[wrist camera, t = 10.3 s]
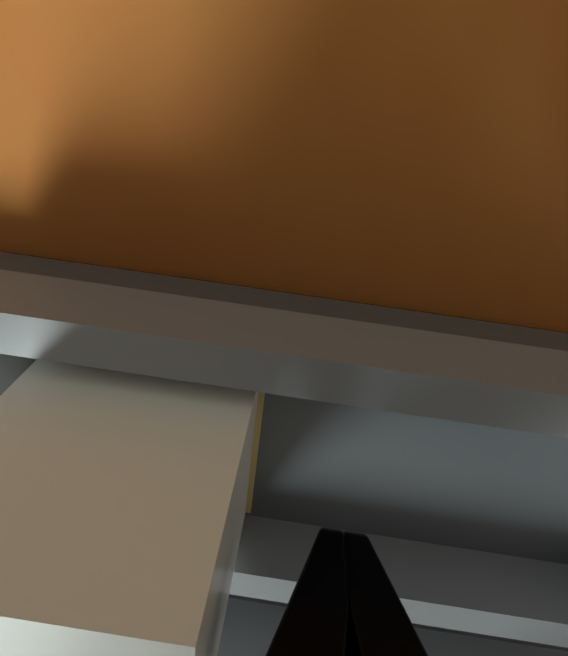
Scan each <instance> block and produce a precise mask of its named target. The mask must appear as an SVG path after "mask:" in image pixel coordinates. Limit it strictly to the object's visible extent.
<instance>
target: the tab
mask: <svg viewBox="0 0 568 656" xmlns="http://www.w3.org/2000/svg"><path fill="white" fill-rule="evenodd" d="M258 393H259V392H255V391H248V390H241V389H235V388H228V387H221V386H214V385H208V384H201V383H194V382H187V381H181V380H174V379H167V378H160V377H154V376H147V375H140V374H134V373H127V372H120V371H113V370H107V369H100V368H93V367H86V366H80V365H73V364H66V363H59V362H53V361H46V360H39V359H37V360H36V361H35V362H34V363H33V364H32V365H31V366H30V367H29V368H28V369H27V370H26V371H25V372H24V373H23V374H22V375H21V376H20V377H19V378H18V379H17V380H16V381H15V382H14V383H13V384H12V385H11V386H10V387H9V388H8V389H7V390H6V391H5V392H4V393H3V394H2V395H1V396H0V656H217V654H218V649H219V644H220V639H221V634H222V629H223V624H224V619H225V613H226V608H227V603H228V598H229V593H230V588H231V583H232V578H233V573H234V568H235V563H236V558H237V553H238V547H239V542H240V537H241V532H242V527H243V522H244V517H245V511H246V502H247V493H248V483H249V474H250V465H251V456H252V447H253V438H254V429H255V420H256V411H257V402H258Z"/></svg>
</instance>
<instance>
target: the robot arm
mask: <svg viewBox="0 0 568 656" xmlns="http://www.w3.org/2000/svg"><path fill="white" fill-rule="evenodd" d="M265 656H428V654H427V652H426V650H425V648H424V646H423V644H422V642H421V640H420V638H419V636H418V634H417V632H416V630H415V628H414V626H413V624H412V622H411V620H410V618H409V616H408V614H407V612H406V610H405V608H404V606H403V604H402V602H401V600H400V599H399V597H398V595H397V593H396V591H395V589H394V587H393V585H392V583H391V581H390V579H389V577H388V575H387V573H386V571H385V569H384V567H383V565H382V563H381V561H380V559H379V557H378V555H377V553H376V551H375V549H374V547H373V545H372V543H371V541H370V539H369V538H368V536H367V535H366V534H364V533H359V532H353V531H342V530H340V529H334V528H327V527H322V528H321V529H320V530H319V532H318V534H317V536H316V539H315V541H314V543H313V546H312V548H311V550H310V553H309V555H308V557H307V560H306V562H305V564H304V567H303V569H302V571H301V574H300V576H299V578H298V581H297V583H296V585H295V588H294V590H293V592H292V595H291V597H290V599H289V602H288V604H287V606H286V609H285V611H284V613H283V616H282V618H281V620H280V623H279V625H278V627H277V630H276V632H275V634H274V637H273V639H272V641H271V644H270V646H269V648H268V651H267V653H266V655H265Z"/></svg>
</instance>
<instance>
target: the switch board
mask: <svg viewBox="0 0 568 656" xmlns="http://www.w3.org/2000/svg"><path fill="white" fill-rule="evenodd" d="M37 359H39V360H46V361H53V362H59V363H66V364H73V365H80V366H86V367H93V368H100V369H107V370H113V371H120V372H127V373H134V374H140V375H147V376H154V377H160V378H167V379H174V380H181V381H187V382H194V383H201V384H208V385H214V386H221V387H228V388H235V389H241V390H248V391H255V392H259V393H258V402H257V411H256V420H255V429H254V438H253V447H252V456H251V465H250V474H249V483H248V493H247V502H246V511H245V517H244V522H243V527H242V532H241V537H240V542H239V547H238V553H237V558H236V563H235V568H234V573H233V578H232V583H231V588H230V593H229V598H228V603H227V608H226V613H225V619H224V624H223V629H222V634H221V639H220V644H219V649H218V654H217V656H265V655H266V653H267V651H268V648H269V646H270V644H271V641H272V639H273V637H274V634H275V632H276V630H277V627H278V625H279V623H280V620H281V618H282V616H283V613H284V611H285V609H286V606H287V604H288V602H289V599H290V597H291V595H292V592H293V590H294V588H295V585H296V583H297V581H298V578H299V576H300V574H301V571H302V569H303V567H304V564H305V562H306V560H307V557H308V555H309V553H310V550H311V548H312V546H313V543H314V541H315V539H316V536H317V534H318V532H319V530H320V529H321V528H322V527H327V528H334V529H340V530H342V531H353V532H359V533H364V534H366V535H367V536H368V538H369V539H370V541H371V543H372V545H373V547H374V549H375V551H376V553H377V555H378V557H379V559H380V561H381V563H382V565H383V567H384V569H385V571H386V573H387V575H388V577H389V579H390V581H391V583H392V585H393V587H394V589H395V591H396V593H397V595H398V597H399V599H400V600H401V602H402V604H403V606H404V608H405V610H406V612H407V614H408V616H409V618H410V620H411V622H412V624H413V626H414V628H415V630H416V632H417V634H418V636H419V638H420V640H421V642H422V644H423V646H424V648H425V650H426V652H427V654H428V656H568V333H564V332H557V331H550V330H543V329H536V328H529V327H522V326H515V325H508V324H501V323H494V322H487V321H480V320H473V319H466V318H459V317H452V316H445V315H438V314H431V313H424V312H417V311H410V310H403V309H396V308H389V307H382V306H375V305H368V304H361V303H354V302H347V301H341V300H334V299H327V298H320V297H313V296H306V295H299V294H292V293H285V292H278V291H271V290H264V289H257V288H250V287H243V286H236V285H229V284H222V283H215V282H208V281H201V280H194V279H187V278H180V277H173V276H166V275H159V274H152V273H145V272H138V271H131V270H124V269H117V268H110V267H103V266H96V265H89V264H82V263H76V262H69V261H62V260H55V259H48V258H41V257H34V256H27V255H20V254H13V253H6V252H0V396H1V395H2V394H3V393H4V392H5V391H6V390H7V389H8V388H9V387H10V386H11V385H12V384H13V383H14V382H15V381H16V380H17V379H18V378H19V377H20V376H21V375H22V374H23V373H24V372H25V371H26V370H27V369H28V368H29V367H30V366H31V365H32V364H33V363H34V362H35V361H36V360H37Z"/></svg>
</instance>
